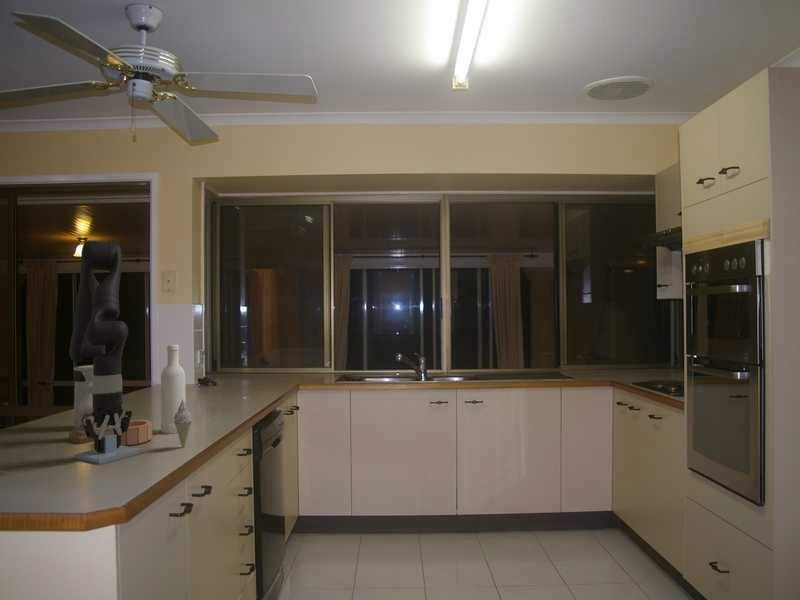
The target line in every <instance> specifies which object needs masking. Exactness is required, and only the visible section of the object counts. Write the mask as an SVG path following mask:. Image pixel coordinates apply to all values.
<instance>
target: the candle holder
mask: <svg viewBox="0 0 800 600" xmlns="http://www.w3.org/2000/svg"><path fill="white" fill-rule="evenodd" d="M73 370H74V371H75V372H80V371H82V374H83V375H84V376H85V379H86V381H85V383H84V385H83V387H84V389H85V391H86V395H85V397H84V399H83V400H82V402H81V403H80V405H79V410H80V411H81V412H82V413H84V415H83V416H82V417H81V420H82V419H83V418H88V417H90V416H92V413H93V400H92V384H93V376H94V375H93V364H89V365H80V366H75V367H73ZM95 424H96V422H95V421H94V420H93V424H92V425H93V428H95ZM109 426H110V425H109ZM109 426H107V427H106V430H105V431H104V433H103V435H106V434H109ZM100 428H101V426H100ZM94 431H95V430H94ZM68 440H69V441H71V442H72V443H75V444H77V445H82V444H88V443H92V442H94V439H92V438H87V436H86V433H85V430H84V427H83V424H81V425H80V426H79V427H78V428H74V427H73V428H72V429H71V432H70V433H68Z"/></svg>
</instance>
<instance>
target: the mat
mask: <svg viewBox="0 0 800 600" xmlns="http://www.w3.org/2000/svg"><path fill="white" fill-rule="evenodd" d="M145 454H146V452H145V451H140V453H139V454H135V455H131V456H127V457H124V458H120V459H116V460H112V461H109V462H105V463H101V464H97V463H93V462H88V461H84V460H79V459H75V458H74V456H72V457H69V458H67V459H68V460H71V461H76V462H80V463H84V464H89V465H94V466H98V467H100V466H103V465H108V464H111V463H114V462H119V461H122V460H125V459H129V458H133V457H137V456H140V455H145Z"/></svg>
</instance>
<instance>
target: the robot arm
mask: <svg viewBox="0 0 800 600" xmlns="http://www.w3.org/2000/svg"><path fill="white" fill-rule="evenodd" d="M122 257H123V254H122V248H121V246H120V245H119V243H115V242H109V241H108V242H107V241H98V240H86V241H85V242H84V244H83V245H82V249H81V255H80V277H79V285H78V291H77V293H78V294H77V298H76V305H75V315H74V326H73V330H72V335H71V339H70V342H69V343H70V344H69V357H70V359H71V360H72V361H73V362H74V363H76V362H77V363H80V362H81V363H82V362H86V363H87V362H92V365H93V375H94V376H93V384H92V400H93V413H92V416H90V417H88V418H83V419H82V420H81V417H82V416H83V415H84V413H82V412H81V411H80V410H79V405H80V403H81V402H82V400H83V399H84V397H85V395H86V391H85V389H84V387H83V385H84V383H85V381H86V379H85V376H84V375H83V374H82V371H76V373H75V374H74V402H73V429H74V428H78V427H79V426H80V425H81V424H83V427H84V430H85V433H86V436H87V438H92V439H94V441H93V442H94V444H93V445H94V446H93V447H94V449H95V451H96V452H98V453H101V452H103V439H102V437H103V433H104V431H105V430H106V427H107V426H110V427H111V428H112V431H113V434H115V435H117V448H119V446H120V445H121V434H122V433H123V432H126V431H127V430H128V426H129V423H130V421H131V419H132V415H133V411H131V410H124V409H123V407H122V406H123V377H122V357H123V353H124V351H123V350H124V347H125V345H126V341H127V338H128V335H129V328H128V326H127V323H126V322H124V321H122V320H117V319H118V318H119V317H120V314H121V313H120V297H119V296H120V295H119V294H120V293H119V292H120V284H121V275H122V264H123V263H122V259H123V258H122ZM94 271H108V272H109V273H108V275H106V277H105V278H104V279H103V280H102V281H101V282H99V281H98V280H97V279H96V277H95V274H94ZM106 346H113V348H112V350H110V351H108V352H106ZM120 418H121V420H120ZM93 420H94V421H95V422H96V424H95V428H93V425H92V424H93ZM120 422H121V423H120ZM100 426H101V428H100ZM94 430H95V431H94ZM94 449H93V450H94Z"/></svg>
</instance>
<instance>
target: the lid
mask: <svg viewBox="0 0 800 600" xmlns="http://www.w3.org/2000/svg"><path fill="white" fill-rule="evenodd" d="M102 439H103V452H101V453H98V452H96V451H95V449H91V450H85V451H81V452H78V453H74V454H73V455H74V456H73V457H74V458H75V459H79V460H84V461H88V462H93V463H97V464H101V463H105V462H109V461H112V460H116V459H120V458H124V457H127V456H131V455H135V454H139V453H140V452H141V448H137V447H134V446H133V447H131V446H122V445H120V446H119V448H117V435H115V434H106V435H103V437H102Z"/></svg>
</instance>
